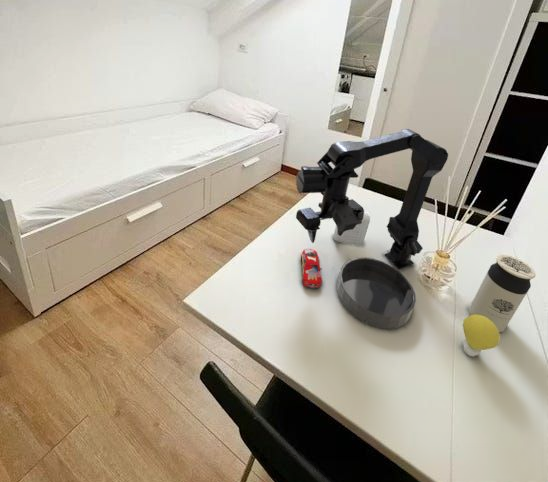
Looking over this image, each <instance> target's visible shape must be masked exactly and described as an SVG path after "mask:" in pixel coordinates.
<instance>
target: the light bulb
mask: <svg viewBox="0 0 548 482" xmlns="http://www.w3.org/2000/svg"><path fill="white" fill-rule="evenodd" d="M462 328H463V329H462V330H463V334H464V337H465V339H464V341H463V343H462V345H463V351H464V352H465V354H466V355H468V356H470V357H475V356H479V355H480V353H481V352H482V351H486V350H490V349H494V348H496V347H497V346H498V345H499V343H500V339H501V337H500V336H501V335H500V332H498V329H497V327H496V326H495V324H494V323H493V322H492V321H491V320H490V319H488V318H486V317H485V316H482V315H477V314H475V315H470V314H469V315H468V316H467V317H466V318H464V319H463V322H462Z"/></svg>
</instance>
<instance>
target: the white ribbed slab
mask: <svg viewBox="0 0 548 482" xmlns="http://www.w3.org/2000/svg"><path fill="white" fill-rule="evenodd" d="M370 221H371V215H370V212H368V211H365V210H364V216H363V220H362V223H361V224H358V225H356V226H355V228H354V229H353V230H347V231H345V232H343V234H342V235H341V236H339V235H338V227H337V225H336V224H335V228H334V231H333V235H332V239H333V240H334V241H335V242H338V243H344V244H349V245H355V246H363V245H364V242H365V238H366V235H367V232H368V228H369V225H370Z"/></svg>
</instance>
